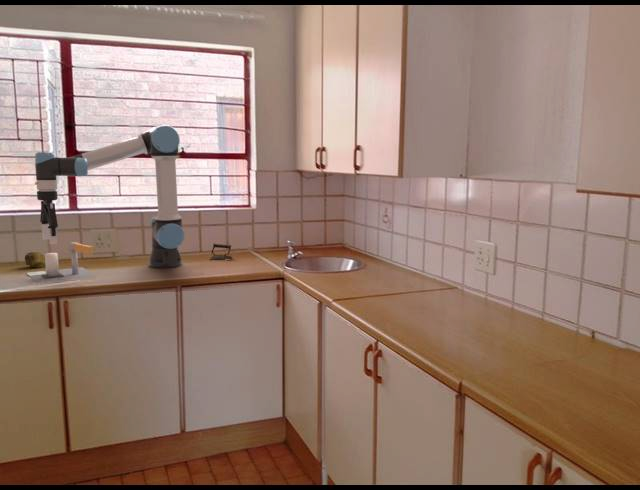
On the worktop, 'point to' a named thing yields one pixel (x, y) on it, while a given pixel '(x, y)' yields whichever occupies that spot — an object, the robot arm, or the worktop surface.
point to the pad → (36, 273)
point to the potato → (35, 259)
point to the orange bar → (80, 248)
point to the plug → (51, 264)
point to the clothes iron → (220, 257)
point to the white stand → (66, 272)
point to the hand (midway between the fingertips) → (49, 241)
